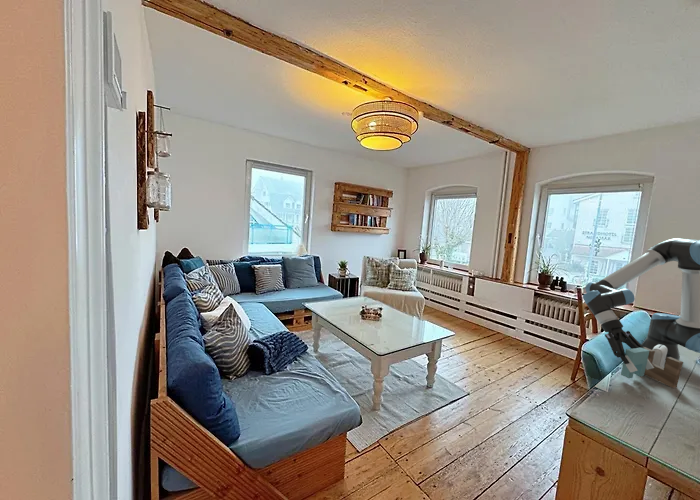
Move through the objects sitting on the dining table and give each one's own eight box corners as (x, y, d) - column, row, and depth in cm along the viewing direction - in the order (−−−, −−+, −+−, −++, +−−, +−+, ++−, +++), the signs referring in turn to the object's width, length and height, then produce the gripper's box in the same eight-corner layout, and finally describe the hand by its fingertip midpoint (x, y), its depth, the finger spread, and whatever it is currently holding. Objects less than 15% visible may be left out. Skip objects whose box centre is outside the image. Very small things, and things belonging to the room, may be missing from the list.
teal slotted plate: (635, 372, 136) (641, 347, 134) (643, 375, 133) (649, 350, 131) (620, 374, 133) (626, 349, 131) (628, 378, 130) (634, 352, 128)
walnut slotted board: (638, 370, 144) (643, 346, 142) (676, 387, 130) (683, 361, 129) (634, 370, 143) (640, 347, 141) (673, 388, 130) (679, 362, 128)
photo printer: (652, 364, 151) (657, 341, 149) (664, 368, 147) (670, 345, 145) (646, 369, 145) (652, 345, 143) (658, 373, 141) (664, 349, 139)
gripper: (618, 323, 148) (650, 369, 136) (585, 326, 142) (616, 375, 129) (632, 317, 143) (668, 364, 130) (599, 320, 136) (633, 370, 123)
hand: (642, 370), depth 130 cm, fingers closed on teal slotted plate, 10 cm apart
